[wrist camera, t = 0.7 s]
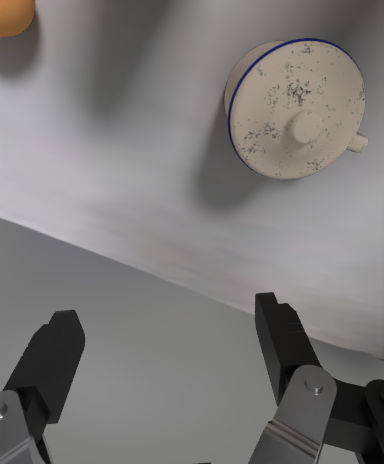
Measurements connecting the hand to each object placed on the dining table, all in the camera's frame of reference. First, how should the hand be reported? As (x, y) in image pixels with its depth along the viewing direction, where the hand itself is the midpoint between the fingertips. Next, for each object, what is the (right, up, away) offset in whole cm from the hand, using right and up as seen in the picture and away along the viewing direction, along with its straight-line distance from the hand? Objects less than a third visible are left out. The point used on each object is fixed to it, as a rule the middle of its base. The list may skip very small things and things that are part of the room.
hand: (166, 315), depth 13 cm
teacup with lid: (+10, +16, +15) cm, 24 cm away
